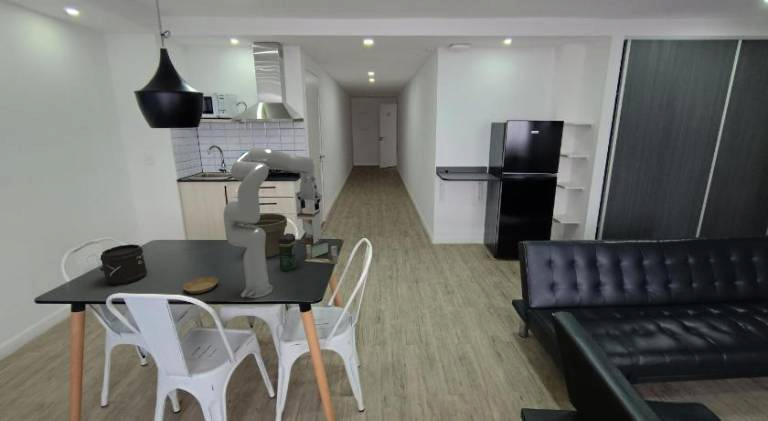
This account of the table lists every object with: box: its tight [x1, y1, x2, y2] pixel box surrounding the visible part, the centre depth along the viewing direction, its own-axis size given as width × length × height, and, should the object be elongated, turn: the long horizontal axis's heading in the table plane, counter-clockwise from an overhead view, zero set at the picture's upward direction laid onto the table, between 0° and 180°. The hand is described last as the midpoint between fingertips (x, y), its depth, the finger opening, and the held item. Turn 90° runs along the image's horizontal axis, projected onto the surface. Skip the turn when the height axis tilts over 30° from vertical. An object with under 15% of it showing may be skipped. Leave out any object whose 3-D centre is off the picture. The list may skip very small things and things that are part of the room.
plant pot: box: [242, 213, 288, 258], centre depth 205 cm, size 25×25×22 cm
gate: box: [311, 242, 329, 258], centre depth 201 cm, size 12×2×6 cm, turn 140°
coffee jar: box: [278, 233, 298, 272], centre depth 184 cm, size 10×8×19 cm
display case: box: [294, 188, 323, 248], centre depth 219 cm, size 11×11×35 cm
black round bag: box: [99, 243, 148, 287], centre depth 174 cm, size 18×18×16 cm
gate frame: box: [304, 244, 340, 265], centre depth 193 cm, size 4×19×9 cm, turn 75°
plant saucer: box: [182, 276, 219, 294], centre depth 165 cm, size 15×15×3 cm
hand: (310, 208), depth 198 cm, fingers open, 9 cm apart
